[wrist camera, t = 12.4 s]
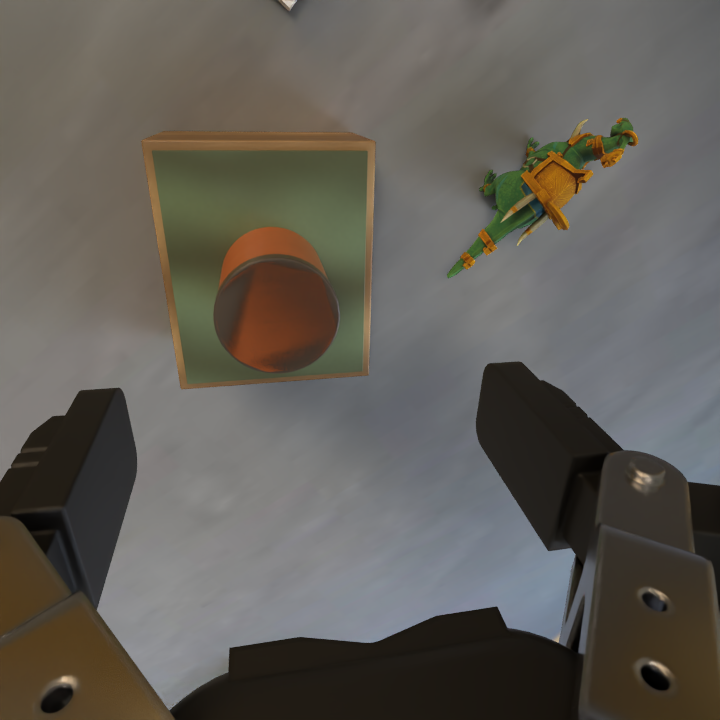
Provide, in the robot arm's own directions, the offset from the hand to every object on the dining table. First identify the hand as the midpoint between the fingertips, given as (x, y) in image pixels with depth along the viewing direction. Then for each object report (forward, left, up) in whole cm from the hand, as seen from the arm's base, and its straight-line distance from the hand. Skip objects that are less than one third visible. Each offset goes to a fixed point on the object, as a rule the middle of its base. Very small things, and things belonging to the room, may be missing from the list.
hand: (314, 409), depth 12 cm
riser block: (+1, -1, -21) cm, 21 cm away
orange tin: (+2, -1, -15) cm, 15 cm away
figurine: (-2, +13, -21) cm, 25 cm away
